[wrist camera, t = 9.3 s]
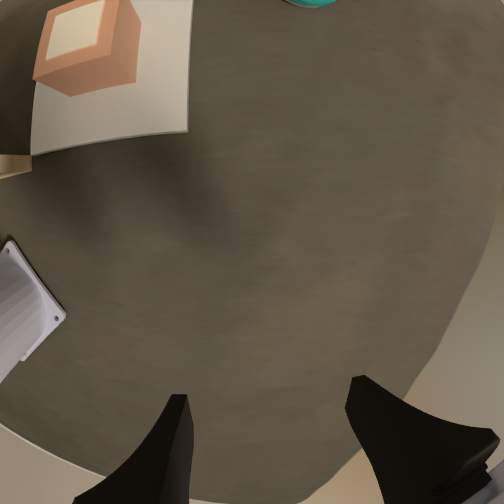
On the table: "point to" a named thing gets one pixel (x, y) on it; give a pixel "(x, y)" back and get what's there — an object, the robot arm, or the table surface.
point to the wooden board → (14, 165)
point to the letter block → (88, 46)
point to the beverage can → (310, 3)
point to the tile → (126, 89)
